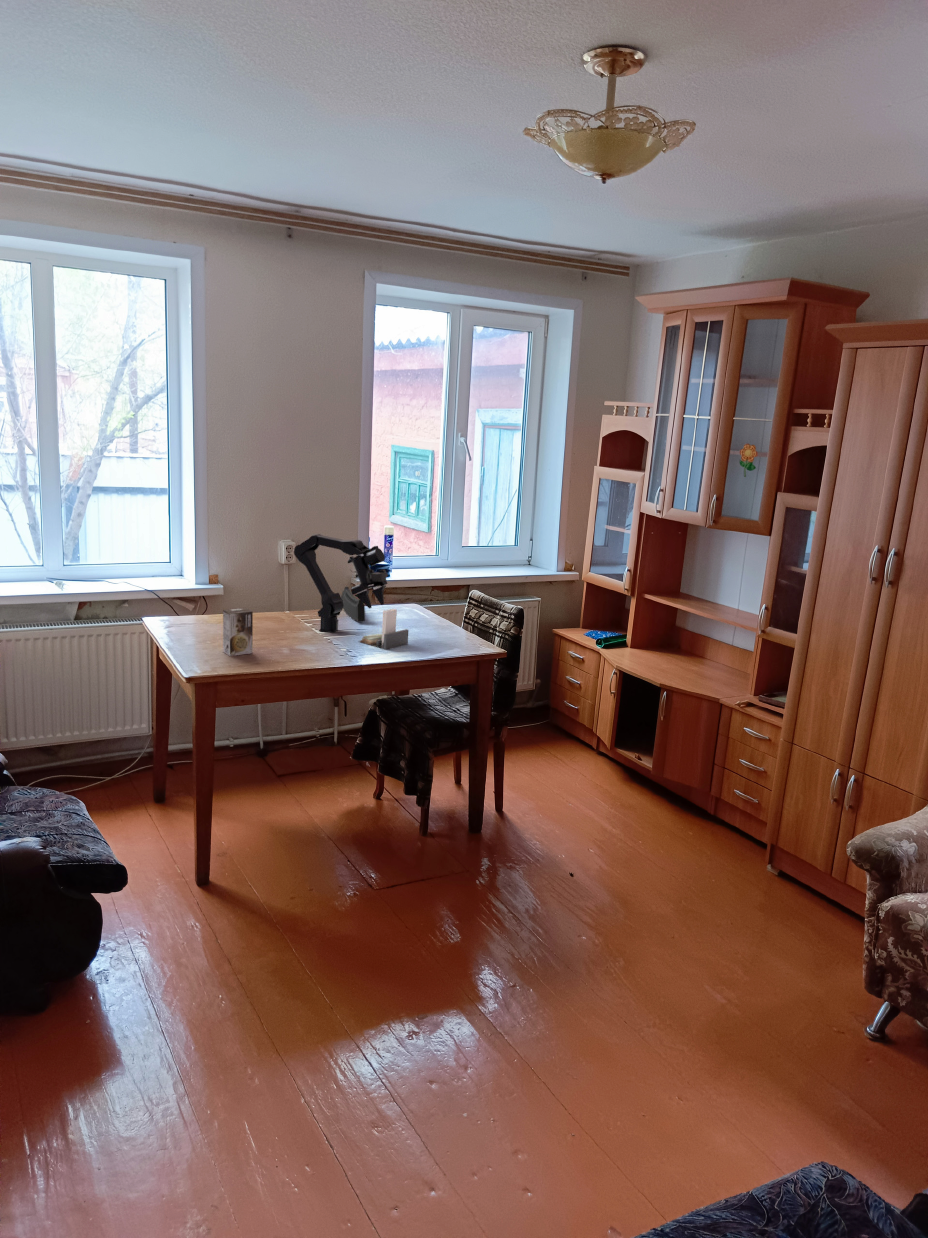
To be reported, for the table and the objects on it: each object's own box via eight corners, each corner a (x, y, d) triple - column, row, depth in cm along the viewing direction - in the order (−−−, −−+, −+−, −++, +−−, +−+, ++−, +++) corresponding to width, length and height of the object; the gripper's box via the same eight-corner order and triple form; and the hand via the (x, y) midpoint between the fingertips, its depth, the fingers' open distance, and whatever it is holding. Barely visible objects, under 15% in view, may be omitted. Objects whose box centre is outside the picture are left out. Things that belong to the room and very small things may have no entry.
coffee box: (245, 649, 328) (246, 607, 325) (252, 653, 323) (253, 611, 320) (222, 652, 323) (222, 609, 319) (229, 656, 318) (230, 613, 314)
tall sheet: (381, 645, 344) (383, 610, 341) (391, 643, 349) (393, 608, 346) (384, 646, 343) (386, 611, 340) (394, 643, 348) (396, 609, 345)
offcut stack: (359, 641, 347) (360, 636, 347) (378, 637, 356) (378, 632, 356) (370, 644, 344) (371, 639, 343) (389, 640, 353) (389, 635, 352)
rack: (357, 644, 347) (358, 627, 345) (379, 639, 357) (380, 622, 356) (385, 652, 338) (386, 634, 337) (407, 646, 349) (408, 629, 347)
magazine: (367, 605, 376) (350, 572, 400) (360, 605, 375) (343, 572, 399) (362, 639, 385) (346, 605, 408) (355, 639, 383) (339, 605, 407)
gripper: (365, 565, 340) (380, 603, 340) (390, 560, 357) (404, 596, 357) (344, 575, 346) (358, 612, 346) (369, 569, 362) (382, 605, 362)
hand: (376, 606), depth 352 cm, fingers open, 9 cm apart
